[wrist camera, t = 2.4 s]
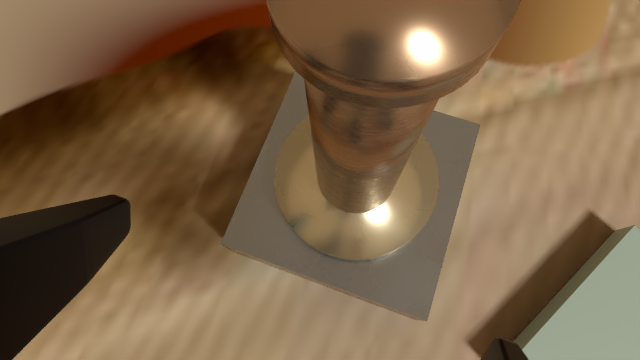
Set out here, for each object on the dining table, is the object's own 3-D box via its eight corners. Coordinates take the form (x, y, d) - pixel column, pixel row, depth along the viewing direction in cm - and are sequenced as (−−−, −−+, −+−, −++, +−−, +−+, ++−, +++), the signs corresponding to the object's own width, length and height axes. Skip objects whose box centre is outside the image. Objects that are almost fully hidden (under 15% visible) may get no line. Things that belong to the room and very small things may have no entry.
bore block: (414, 319, 20) (427, 321, 18) (235, 252, 22) (220, 244, 19) (462, 147, 23) (480, 124, 20) (300, 97, 25) (296, 69, 22)
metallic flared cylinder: (437, 253, 21) (692, 123, 6) (293, 277, 21) (191, 205, 6) (405, 122, 23) (533, -206, 8) (275, 143, 23) (169, -152, 8)
